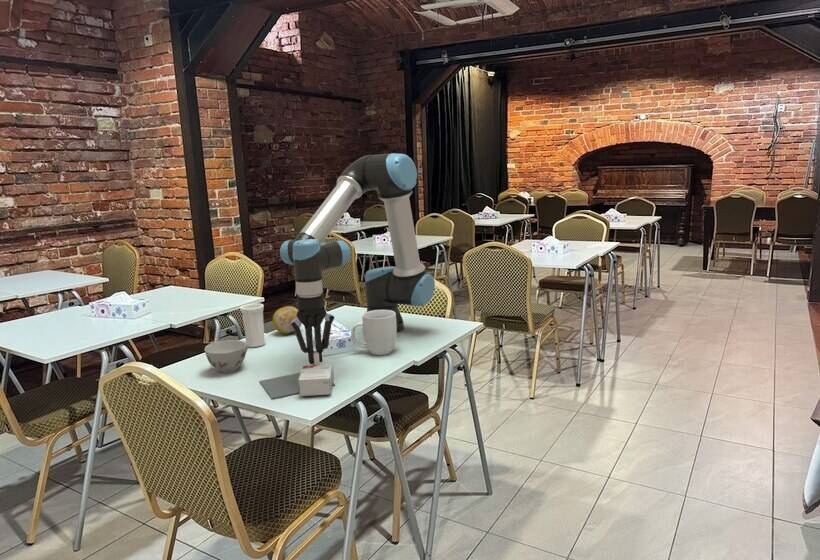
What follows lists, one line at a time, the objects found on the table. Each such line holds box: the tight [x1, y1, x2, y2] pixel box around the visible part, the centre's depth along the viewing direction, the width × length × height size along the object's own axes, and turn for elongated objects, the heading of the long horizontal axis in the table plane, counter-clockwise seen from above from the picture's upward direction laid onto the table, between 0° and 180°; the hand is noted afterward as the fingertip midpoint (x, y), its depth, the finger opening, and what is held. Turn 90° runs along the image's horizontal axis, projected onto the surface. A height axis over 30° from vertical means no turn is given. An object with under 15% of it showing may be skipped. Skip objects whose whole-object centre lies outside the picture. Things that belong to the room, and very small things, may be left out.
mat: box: [259, 371, 336, 400], centre depth 166 cm, size 18×15×1 cm
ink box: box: [298, 363, 335, 397], centre depth 161 cm, size 9×5×12 cm
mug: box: [351, 310, 398, 356], centre depth 189 cm, size 15×11×13 cm
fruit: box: [272, 305, 303, 335], centre depth 216 cm, size 10×11×10 cm
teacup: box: [204, 339, 249, 374], centre depth 181 cm, size 15×12×8 cm
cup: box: [239, 303, 266, 348], centre depth 203 cm, size 8×8×14 cm
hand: (316, 373), depth 168 cm, fingers closed
